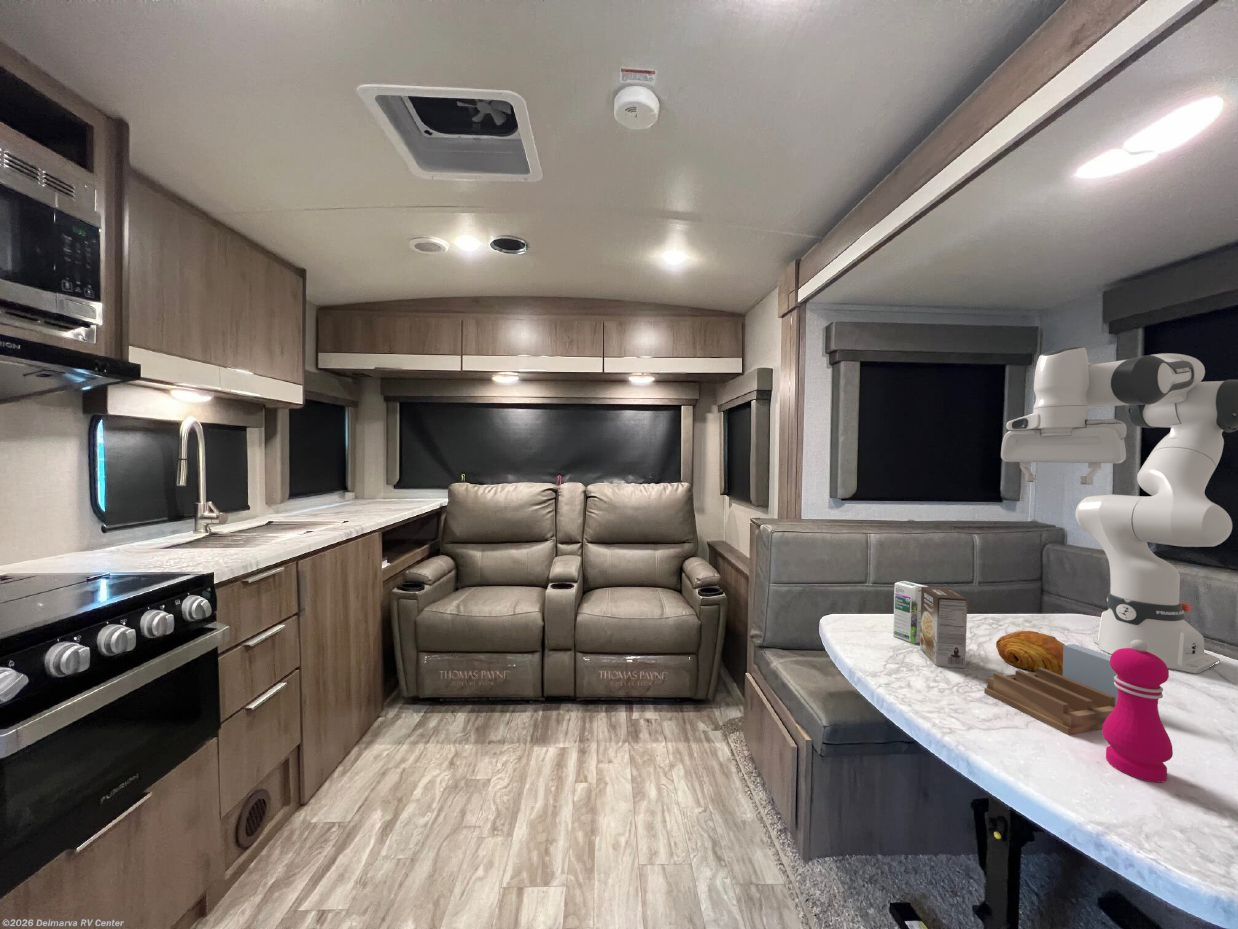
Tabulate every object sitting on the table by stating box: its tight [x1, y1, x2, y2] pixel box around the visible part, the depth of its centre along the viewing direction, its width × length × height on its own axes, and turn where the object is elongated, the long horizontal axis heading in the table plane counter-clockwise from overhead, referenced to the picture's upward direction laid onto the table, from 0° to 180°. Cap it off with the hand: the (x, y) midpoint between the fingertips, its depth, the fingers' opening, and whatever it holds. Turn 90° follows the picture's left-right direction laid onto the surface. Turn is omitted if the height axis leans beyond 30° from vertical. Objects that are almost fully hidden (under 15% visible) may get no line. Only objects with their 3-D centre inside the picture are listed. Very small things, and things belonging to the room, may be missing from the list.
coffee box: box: [919, 586, 968, 669], centre depth 109 cm, size 9×6×16 cm
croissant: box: [995, 630, 1066, 676], centre depth 107 cm, size 14×16×8 cm
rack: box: [983, 667, 1115, 736], centre depth 88 cm, size 14×14×4 cm
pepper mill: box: [1101, 640, 1174, 783], centre depth 71 cm, size 7×7×20 cm
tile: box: [1063, 643, 1118, 705], centre depth 92 cm, size 3×9×9 cm, turn 13°
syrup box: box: [892, 580, 928, 644], centre depth 121 cm, size 6×6×14 cm
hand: (1057, 483), depth 102 cm, fingers open, 8 cm apart
